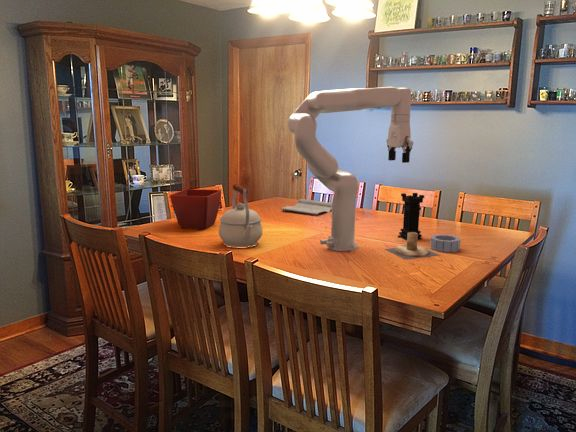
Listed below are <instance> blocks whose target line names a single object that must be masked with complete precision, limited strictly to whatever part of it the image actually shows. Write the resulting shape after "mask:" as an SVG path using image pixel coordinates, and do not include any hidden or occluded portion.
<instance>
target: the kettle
mask: <svg viewBox="0 0 576 432" xmlns="http://www.w3.org/2000/svg"><path fill="white" fill-rule="evenodd" d="M232 189H233V197H232V202H231V205H232V206H231V207H232V208H231V209H229V210H226V211H225V212H224V213H222V215H221V217H220V218H219V222H220V223H219V228H218V236H219V238H220V239H221V240H222V241H223V245H224V246H225V245H226V246H225V247H227V246H231V247H248V246H253V245H256V244H257V243H258V241H259V240H260V239H261V238H262V237H263V236H262V235H263V232H264V231H263V226H262V223H261V222H262V220H263V219H262V218H261V217H260V216H259V213H258V212H257V211H255V210H253V209H251V208H249V204H248V199H247V194H248V193H249V191H248V189H247V188H246V187H243V186H241V185H239V184H238V183H234V184H233V185H232ZM238 193H240V194H241V195H242V196H243V197H242V198H243V199H242V200H243V203H242V202H237V204H236V200H237V197H238ZM257 245H258V244H257ZM257 245H256V246H257Z"/></svg>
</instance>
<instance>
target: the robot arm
mask: <svg viewBox="0 0 576 432" xmlns="http://www.w3.org/2000/svg"><path fill="white" fill-rule="evenodd" d="M411 103H412V90H411V88H409V87H396V86H383V87H382V86H381V87H368V88H367V87H363V88H362V87H361V88H359V87H358V88H357V87H356V88H355V87H353V88H352V87H351V88H343V89H342V88H340V89H329V90H328V89H326V90H319V91H313V92H311V93H309V95H308V96H307V97H306V98H305V99H304V100H303V101H302V102H301V103H300V104H299V106H298V107H297V108H296V109H295V110H294V112H293V113H292V114H291V115H290V117H289V118H288V121H287V127H288V130H289V131H290V133H292V134H293V135H294V142H295V148H296V150H297V152H298V153H299V154H300V156H301V157H302V158H303V159H304V160H305V161H306V163H307V168H308V170H309V172H310V173H311V174H312V176H314V177H315V178H316V179H317V180H318V181H319V182H320V183H321V184H322V185H324V187H325V188H327V189H328V190H329V191H331V192H333V197H332V200H331V201H332V202H331V203H332V209H331V224H330V225H331V233H330V236H328V238H327V239H320V241H319V244H320V245H326V248H327V249H329V250H331V251H335V252H352V251H355V250H357V249H358V248H359V245H358V244H357V243H356V242H355V232H356V229H355V228H356V226H355V225H356V203H357V195H358V191H359V183H358V182H359V181H358V179H357V177H356V176H355V175H354V174H353V173H352V172H349V171H346V170H342V169H341V168H339V163H338V161H337V158H335V157H334V156H333V155H332V154H331V153H330V152H329V151H328V150H327V149H326V148H325V147H324V146H323V145H322V144H321V143H320V142H319V141H318V138H317V121H316V119H317V117H318V116H319V115H320V114H328V113H329V114H331V113H340V112H353V111H362V110H366V109H376V108H377V109H379V108H387V107H389V108H390V107H391V110H390V112H391V113H390V124H389V127H388V135H387V139H386V146H387V151H388V158H387V159H388V160H387V161H396V160H397V159H396V156H397V155H396V154H397V153H396V152H397V151H396V148H398V149H400V148H401V149H402V151H403V152H402V155H401V162H402V164H403V163H410V156H411V151H412V149H413V146H414V140H412V139H411V136H412V135H411V133H412V131H411V123H410V121H411Z"/></svg>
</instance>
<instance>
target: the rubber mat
mask: <svg viewBox="0 0 576 432" xmlns="http://www.w3.org/2000/svg"><path fill="white" fill-rule="evenodd" d="M384 251H386V252H389V253H391V254H393V255H395V256H397V257H399V258H401V259H404V260H413V259H420V258H421V259H423V258H429V257H430V258H431V257H438V256H439V257H440V254H438V253H436V252H434V251H432V250H429V254H428V255H426V256H422V257H410V256H403V255H400V254H397V253H396V252H395V247H393V248H384Z"/></svg>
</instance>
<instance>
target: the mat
mask: <svg viewBox="0 0 576 432" xmlns="http://www.w3.org/2000/svg"><path fill="white" fill-rule="evenodd" d="M281 210H282V212H285V211H289V212H295V213H300V214H307V215H313V216H315V217H316V216H318V215H319V214H321V213H330V212H332V202H327V201H320V200H313V199H303V198H300V199H298V202H297V203H296V204H295V205H294V206H293V205H292V206H290V205H287V206H283V207H281Z"/></svg>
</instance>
